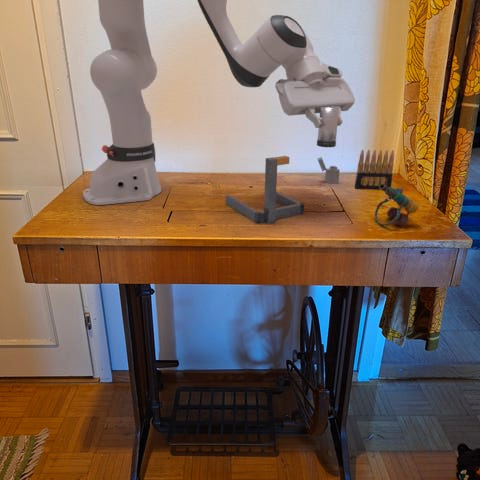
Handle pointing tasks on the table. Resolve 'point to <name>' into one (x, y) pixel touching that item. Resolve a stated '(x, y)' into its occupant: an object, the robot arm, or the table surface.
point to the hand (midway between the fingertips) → (329, 125)
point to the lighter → (329, 172)
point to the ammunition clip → (374, 171)
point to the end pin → (328, 126)
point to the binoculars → (402, 202)
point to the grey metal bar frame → (269, 198)
